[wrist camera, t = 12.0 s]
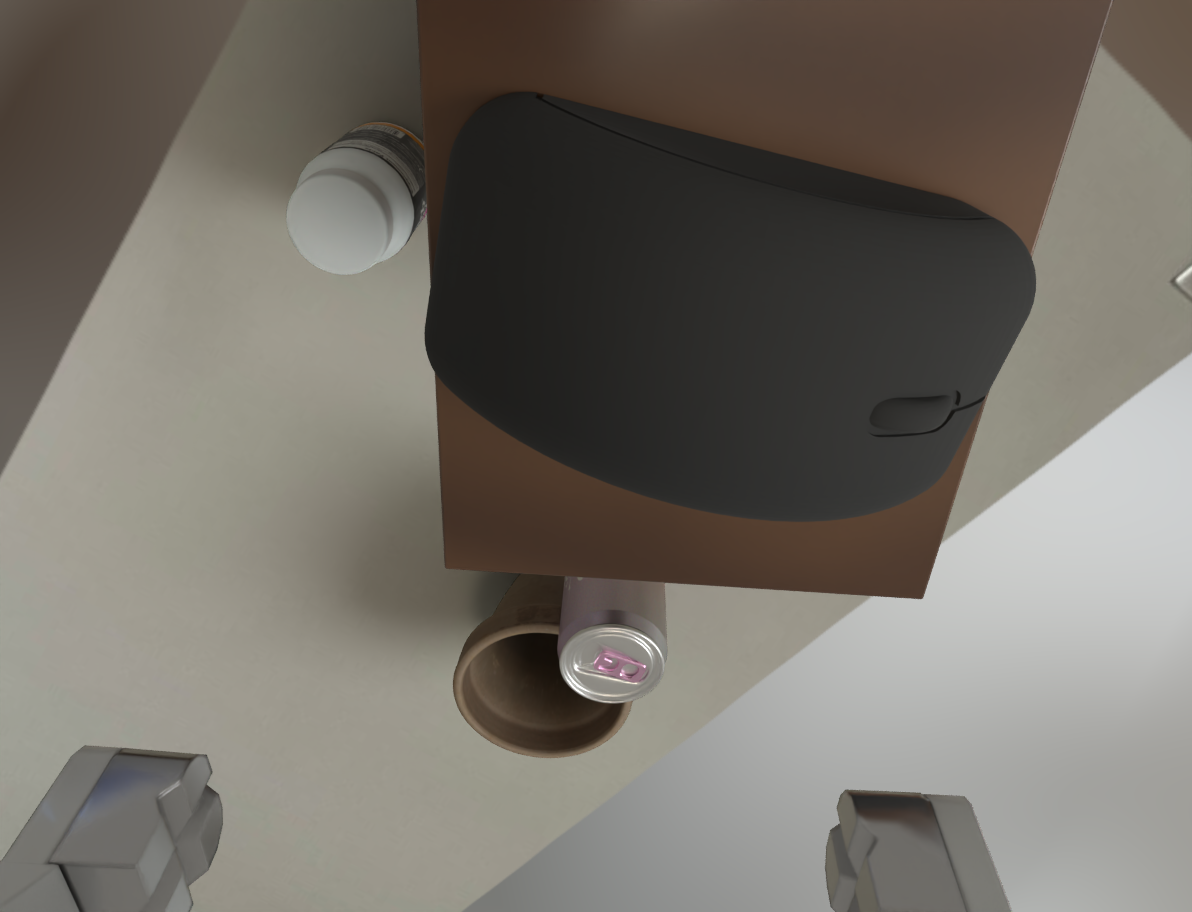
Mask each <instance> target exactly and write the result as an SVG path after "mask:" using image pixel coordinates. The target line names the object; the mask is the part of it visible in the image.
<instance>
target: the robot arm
mask: <svg viewBox="0 0 1192 912" xmlns="http://www.w3.org/2000/svg"><path fill="white" fill-rule="evenodd" d="M211 774H212V769H211V766H210V763H209V760H208V757H207V755H203V754H191V753H179V752H166V751H154V750H142V749H130V748H118V747H102V746H86V745H85V746H83V747H82V748H81V749H80V750H78V751H77V752H76V753H75V754H73V755H72V756H71V757H70V759H69V760H68V762H67V763H66V765H65V766H64V768H63V769H62V771H61V772H60V774H59V775H58V777H57V778H56V780H55V781H54V783H53V784H52V786H51V787H50V789H49V790H48V792H47V793H46V795H45V796H44V798H43V799H42V801H41V802H40V804H39V805H38V807H37V808H36V810H35V811H34V813H33V814H32V816H31V817H30V819H29V820H28V822H27V823H26V825H25V826H24V828H23V829H22V831H21V832H20V834H19V835H18V837H17V838H16V840H15V841H14V843H13V844H12V846H11V847H10V849H9V850H8V852H7V853H6V855H5V856H4V858H3V859H2V861H0V912H190V910H191V908H192V906H193V901H192V897H191V893H190V890H189V885H191V884H192V883H193V882H194V881H196V880H197V879H198V878H199V877H200V876H202V875H203V874H204V873H205V872H207V871H208V870H209V867H210V865H211V863H212V860H213V858H214V855H215V853H216V851H217V848H218V844H219V839H220V834H221V830H222V825H223V815H222V804H221V800H220V796H219V794H218V793H216V792H215V791H214V790H213V789H211V788H210V787H209V786H208V785H206V784H207V782H208V780H209V778H210V776H211ZM837 811H838V816H839V821H840V824H838V825H837V826H835V827H834V828H832V829H831V830H830V833H829V837H828V842H827V846H826V863H825V864H826V865H825V871H826V881H827V889H828V894H829V900H830V906H831V908H832V909H833V910H834V911H835V912H1012V909H1011V907H1010V904H1009V901H1008V899H1007V896H1006V894H1005V891H1004V888H1003V886H1002V883H1001V880H1000V878H999V875H998V873H997V870H996V867H995V865H994V862H993V859H992V857H991V854H990V851H989V849H988V846H987V844H986V841H985V838H984V836H983V833H982V831H981V828H980V825H979V823H978V820H977V817H976V815H975V812H974V810H973V807H972V804H971V803H970V802H969V801H968V800H967V799H966V798H965V797H964V796H952V795H931V794H921V793H910V792H889V791H865V790H845V791H844V792H843V793H842V794H841V795H840V798H839V802H838V805H837Z"/></svg>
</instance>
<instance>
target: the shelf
mask: <svg viewBox="0 0 1192 912" xmlns="http://www.w3.org/2000/svg"><path fill="white" fill-rule="evenodd" d="M1113 1H1114V0H416V3H417V23H418V43H419V63H420V83H421V103H422V123H423V143H424V163H425V183H426V203H427V223H428V243H429V263H430V283H431V281H432V274H433V267H434V260H435V253H436V246H437V239H438V232H439V225H440V218H441V211H442V204H443V197H444V190H445V183H446V176H447V169H448V162H449V157H450V153H451V149H452V146H453V144H454V141H455V139H456V137H457V135H458V133H459V132H460V130H461V129H462V127H463V126H464V125H465V123H466V122H467V121H468V119H469V118H470V117H471V116H472V115H473V114H474V113H475V112H476V111H477V110H478V109H479V108H480V107H481V106H483V105H484V104H486V103H487V102H489V101H491V100H493V99H495V98H497V97H500V96H502V95H506V94H510V93H515V92H536V93H537V97H540V98H543V96H544V94H546V95H550V96H554V97H558V98H562V99H566V100H570V101H574V102H578V103H582V104H585V105H589V106H593V107H597V108H601V109H605V110H609V111H613V112H617V113H621V114H625V115H629V116H633V117H637V118H640V119H644V120H648V121H652V122H656V123H660V124H664V125H668V126H672V127H676V128H680V129H684V130H688V131H692V132H695V133H699V134H703V135H707V136H711V137H715V138H719V139H723V140H727V141H731V142H735V143H739V144H743V145H747V146H751V147H754V148H758V149H762V150H766V151H770V152H774V153H778V154H782V155H786V156H790V157H794V158H798V159H802V160H806V161H809V162H813V163H817V164H821V165H825V166H829V167H833V168H837V169H841V170H845V171H849V172H853V173H857V174H861V175H865V176H868V177H872V178H876V179H880V180H884V181H888V182H892V183H896V184H900V185H904V186H908V187H912V188H916V189H920V190H923V191H927V192H931V193H935V194H939V195H943V196H947V197H951V198H954V199H957V200H960V201H962V202H965V203H967V204H969V205H971V206H973V207H975V208H977V209H979V210H981V211H982V212H984V213H986V214H988V215H990V216H992V217H994V218H996V219H998V220H999V221H1001V222H1003V223H1004V224H1006V225H1007V226H1008V227H1010V228H1011V229H1012V230H1013V231H1014V232H1015V233H1016V234H1017V235H1018V236H1019V237H1020V238H1021V239H1022V241H1023V242H1024V244H1025V245H1026V247H1027V249H1028V251H1029V253H1030V255H1031V258H1032V255H1033V252H1034V249H1035V246H1036V243H1037V239H1038V236H1039V233H1040V230H1041V227H1042V224H1043V221H1044V217H1045V214H1046V211H1047V208H1048V205H1049V202H1050V199H1051V195H1052V192H1053V189H1054V186H1055V183H1056V180H1057V177H1058V174H1059V170H1060V167H1061V164H1062V161H1063V158H1064V155H1065V152H1066V148H1067V145H1068V142H1069V139H1070V136H1071V133H1072V130H1073V126H1074V123H1075V120H1076V117H1077V114H1078V111H1079V108H1080V105H1081V101H1082V98H1083V95H1084V92H1085V89H1086V86H1087V83H1088V79H1089V76H1090V73H1091V70H1092V67H1093V64H1094V61H1095V58H1096V54H1097V51H1098V48H1099V45H1100V42H1101V39H1102V36H1103V32H1104V29H1105V26H1106V23H1107V20H1108V17H1109V14H1110V10H1111V7H1112V4H1113ZM435 383H436V403H437V423H438V443H439V463H440V483H441V503H442V523H443V543H444V563H445V568H447V569H460V570H476V571H491V572H507V573H522V574H538V575H554V576H569V577H585V578H600V579H616V580H632V581H647V582H663V583H678V584H694V585H710V586H725V587H741V588H756V589H772V590H788V591H803V592H819V593H835V594H850V595H866V596H881V597H882V596H883V597H897V598H913V599H922V598H923V597H924V594H925V590H926V587H927V584H928V581H929V578H930V575H931V572H932V568H933V565H934V562H935V559H936V556H937V553H938V550H939V547H940V544H941V540H942V537H943V534H944V531H945V528H946V525H947V522H948V518H949V515H950V512H951V509H952V506H953V503H954V500H955V497H956V493H957V490H958V487H959V484H960V481H961V478H962V475H963V471H964V468H965V465H966V462H967V459H968V456H969V453H970V449H971V446H972V443H973V440H974V437H975V434H976V431H977V428H978V424H979V421H980V418H981V415H982V412H983V409H984V406H985V402H986V399H987V396H988V393H989V392H988V393H987V395H986V397H985V399H984V401H983V403H982V405H981V407H980V408H979V410H978V412H977V414H976V416H975V418H974V420H973V422H972V423H971V425H970V427H969V429H968V431H967V433H966V435H965V437H964V439H963V440H962V442H961V444H960V446H959V448H958V450H957V452H956V454H955V456H954V457H953V459H952V461H951V463H950V465H949V467H948V468H947V470H946V472H945V473H944V474H943V476H942V477H941V478H940V479H939V480H938V481H937V482H936V483H935V484H934V485H933V486H932V487H930V488H929V489H928V490H926V491H925V492H923V493H921V494H920V495H918V496H916V497H914V498H913V499H911V500H908V501H906V502H904V503H902V504H900V505H897V506H895V507H892V508H889V509H886V510H883V511H879V512H876V513H873V514H868V515H864V516H859V517H853V518H847V519H840V520H831V521H815V522H787V521H768V520H757V519H747V518H740V517H733V516H726V515H720V514H715V513H710V512H705V511H700V510H695V509H691V508H687V507H682V506H678V505H674V504H670V503H667V502H663V501H660V500H656V499H653V498H649V497H646V496H643V495H640V494H637V493H634V492H631V491H628V490H625V489H622V488H619V487H616V486H613V485H611V484H608V483H606V482H603V481H601V480H598V479H596V478H593V477H591V476H588V475H586V474H583V473H581V472H579V471H577V470H574V469H572V468H570V467H568V466H566V465H563V464H561V463H559V462H557V461H555V460H553V459H551V458H549V457H547V456H545V455H543V454H541V453H540V452H538V451H536V450H534V449H532V448H531V447H529V446H527V445H525V444H523V443H522V442H520V441H518V440H516V439H515V438H513V437H512V436H510V435H509V434H507V433H505V432H504V431H502V430H501V429H499V428H498V427H496V426H495V425H493V424H492V423H490V422H489V421H487V420H486V419H485V418H483V417H482V416H481V415H479V414H478V413H477V412H475V411H474V410H473V409H471V408H470V407H469V406H468V405H466V404H465V403H464V402H463V401H462V400H460V399H459V398H458V397H457V396H456V395H455V394H454V393H452V392H451V391H450V390H449V389H448V388H447V387H446V386H445V385H444V384H443V383H442V381H441V380H440V379H439V378H438V376H437V375H436V373H435Z"/></svg>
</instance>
